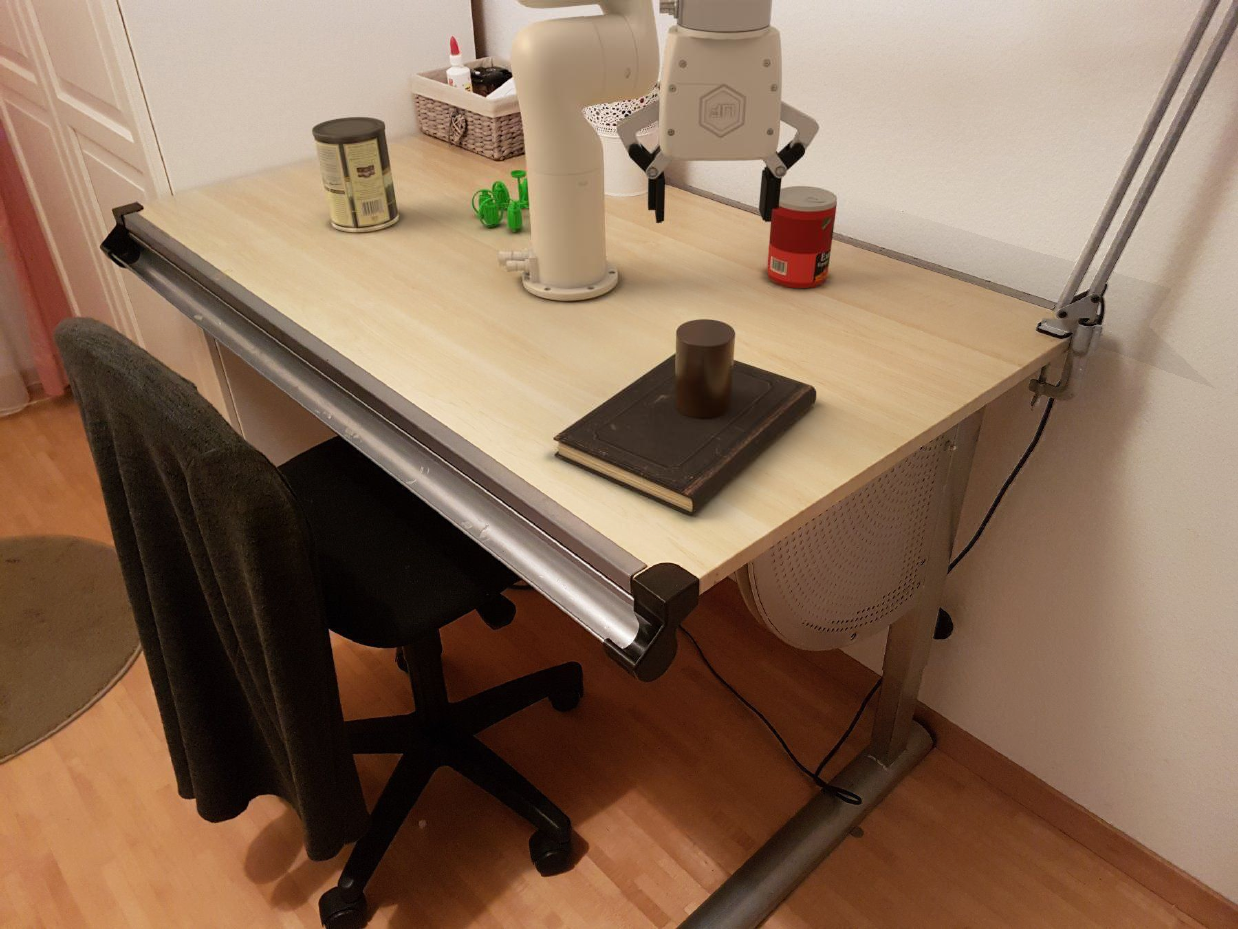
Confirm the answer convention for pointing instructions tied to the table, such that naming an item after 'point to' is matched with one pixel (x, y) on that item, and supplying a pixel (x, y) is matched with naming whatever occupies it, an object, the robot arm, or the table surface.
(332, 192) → the coffee can
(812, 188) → the canned food
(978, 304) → the table surface
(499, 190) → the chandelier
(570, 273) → the robot arm
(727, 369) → the walnut cylinder
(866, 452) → the table surface
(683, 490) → the hardcover book
